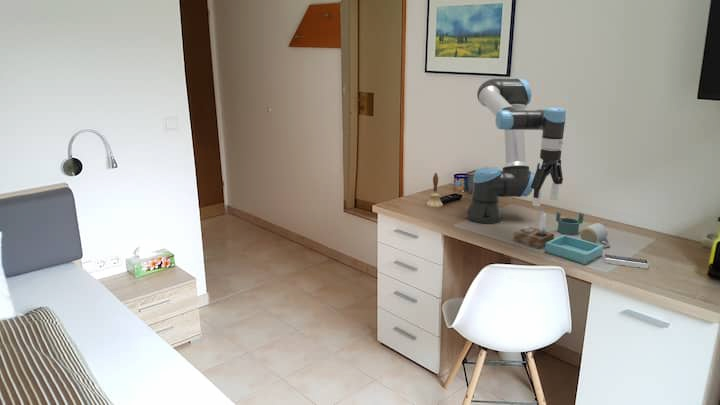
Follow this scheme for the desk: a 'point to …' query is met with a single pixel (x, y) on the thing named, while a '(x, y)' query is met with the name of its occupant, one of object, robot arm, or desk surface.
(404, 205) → the desk surface
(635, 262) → the multiport hub
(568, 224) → the bracket
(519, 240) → the brown wooden block
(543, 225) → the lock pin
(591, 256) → the tray
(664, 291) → the desk surface
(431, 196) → the hand bell
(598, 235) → the ceramic mug
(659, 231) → the desk surface
